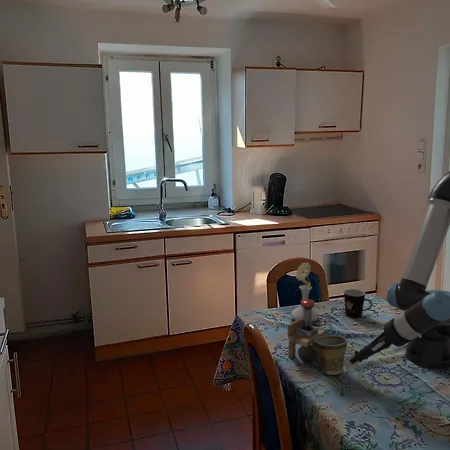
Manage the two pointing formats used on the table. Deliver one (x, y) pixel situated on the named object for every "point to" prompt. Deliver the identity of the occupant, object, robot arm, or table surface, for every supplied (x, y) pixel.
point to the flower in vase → (304, 291)
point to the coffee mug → (354, 303)
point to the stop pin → (307, 313)
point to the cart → (303, 341)
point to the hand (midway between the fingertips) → (345, 364)
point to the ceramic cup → (331, 353)
